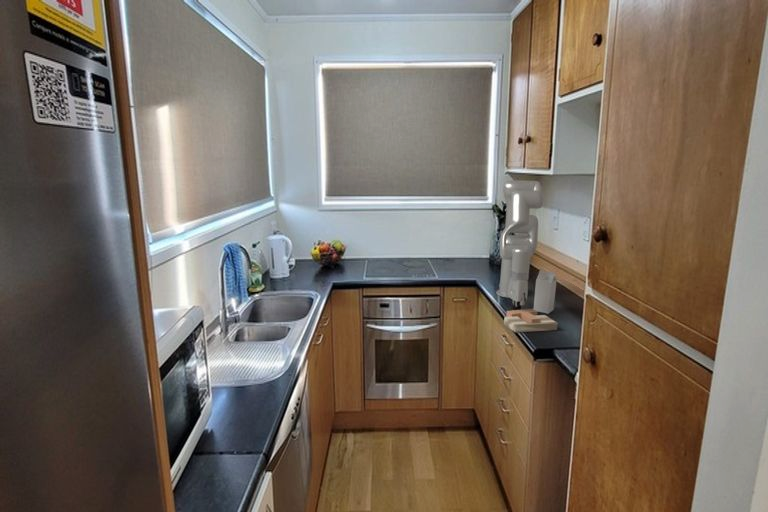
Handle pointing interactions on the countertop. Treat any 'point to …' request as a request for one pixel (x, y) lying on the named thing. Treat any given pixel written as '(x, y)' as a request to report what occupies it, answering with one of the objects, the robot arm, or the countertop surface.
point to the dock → (530, 324)
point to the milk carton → (545, 292)
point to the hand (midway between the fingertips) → (516, 314)
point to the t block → (525, 315)
